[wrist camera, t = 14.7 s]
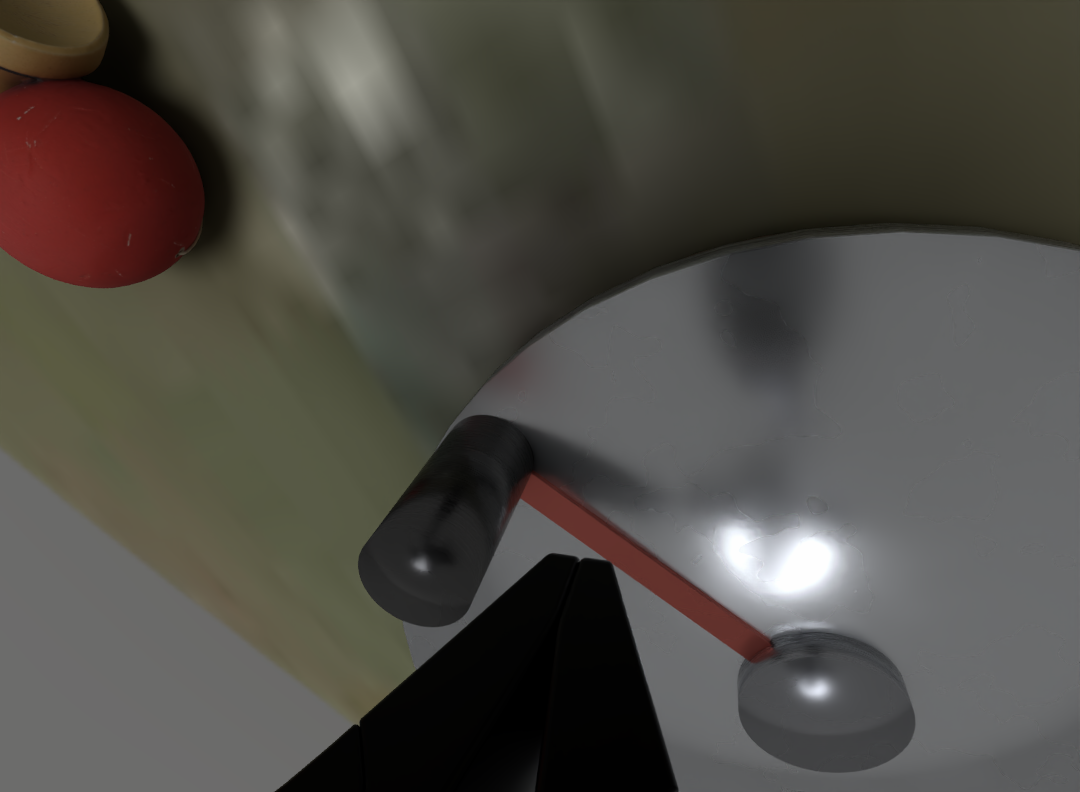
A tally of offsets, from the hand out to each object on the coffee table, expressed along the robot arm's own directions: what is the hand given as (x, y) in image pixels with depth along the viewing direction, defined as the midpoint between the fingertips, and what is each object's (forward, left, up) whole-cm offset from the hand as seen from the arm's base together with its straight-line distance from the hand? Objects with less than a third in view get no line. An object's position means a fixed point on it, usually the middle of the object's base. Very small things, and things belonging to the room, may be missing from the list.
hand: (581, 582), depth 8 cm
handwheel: (+9, +9, -11) cm, 17 cm away
